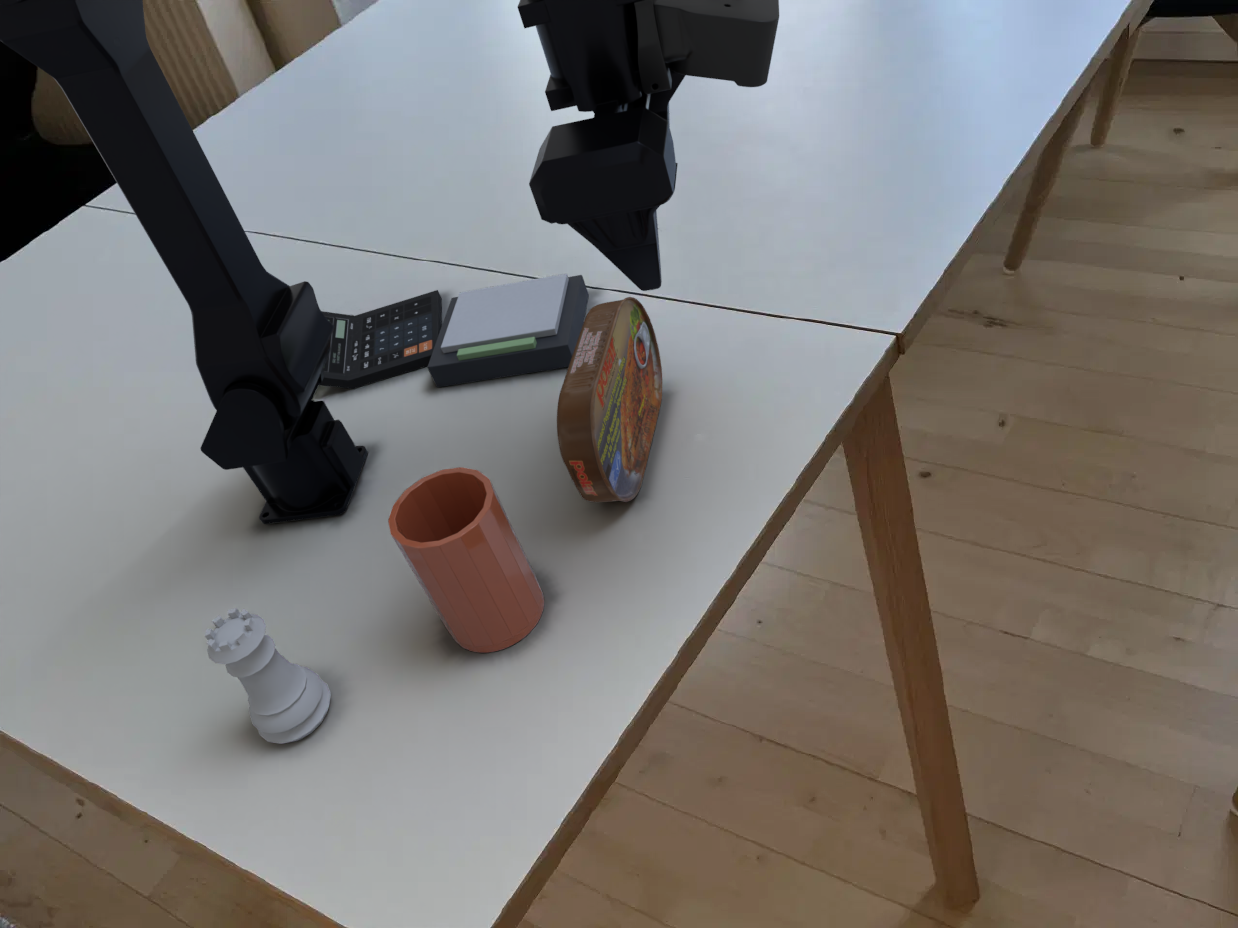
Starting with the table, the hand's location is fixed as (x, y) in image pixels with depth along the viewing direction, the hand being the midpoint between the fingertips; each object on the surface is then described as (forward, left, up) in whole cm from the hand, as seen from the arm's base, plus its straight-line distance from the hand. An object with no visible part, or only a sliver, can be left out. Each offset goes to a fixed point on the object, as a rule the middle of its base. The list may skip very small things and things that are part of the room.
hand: (657, 240), depth 59 cm
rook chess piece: (-23, -19, -15) cm, 34 cm away
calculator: (-28, +16, -15) cm, 36 cm away
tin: (-5, 0, -15) cm, 16 cm away
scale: (-16, +14, -15) cm, 26 cm away
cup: (-12, -13, -15) cm, 23 cm away
